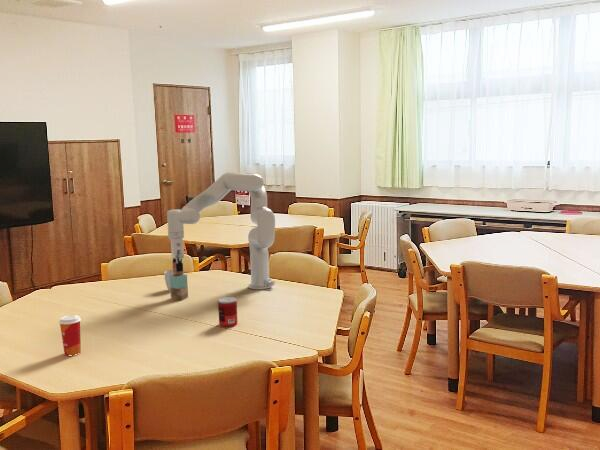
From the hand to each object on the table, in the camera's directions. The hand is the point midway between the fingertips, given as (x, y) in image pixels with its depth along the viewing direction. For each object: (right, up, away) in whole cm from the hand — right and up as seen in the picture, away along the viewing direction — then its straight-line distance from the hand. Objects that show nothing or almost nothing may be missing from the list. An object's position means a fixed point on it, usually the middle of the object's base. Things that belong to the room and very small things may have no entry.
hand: (178, 269), depth 297 cm
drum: (0, -3, 0) cm, 3 cm away
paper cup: (-25, -27, -71) cm, 80 cm away
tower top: (0, -9, +1) cm, 9 cm away
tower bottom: (0, -15, +2) cm, 15 cm away
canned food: (+30, -21, -41) cm, 54 cm away
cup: (-6, -13, +19) cm, 23 cm away
